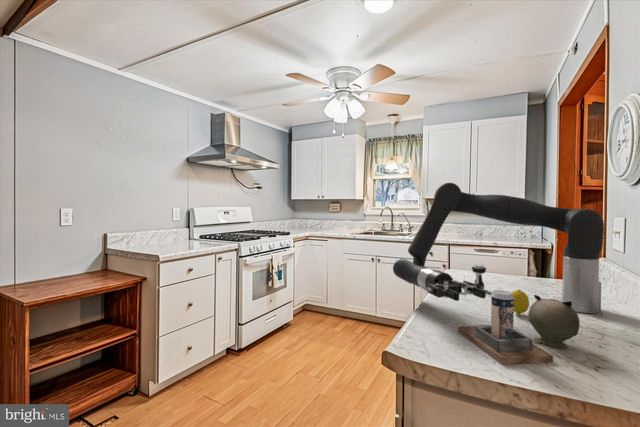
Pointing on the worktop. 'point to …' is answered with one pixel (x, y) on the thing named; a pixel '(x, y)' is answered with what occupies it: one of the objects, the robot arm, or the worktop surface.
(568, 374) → the worktop surface
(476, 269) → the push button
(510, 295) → the beer can
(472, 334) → the walnut dock
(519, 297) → the lemon
